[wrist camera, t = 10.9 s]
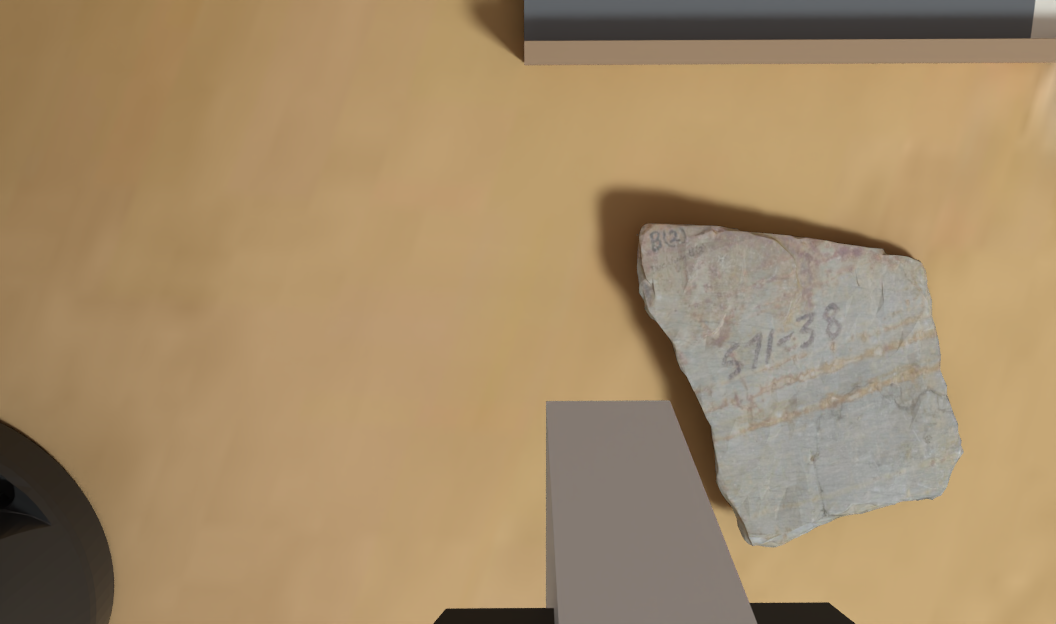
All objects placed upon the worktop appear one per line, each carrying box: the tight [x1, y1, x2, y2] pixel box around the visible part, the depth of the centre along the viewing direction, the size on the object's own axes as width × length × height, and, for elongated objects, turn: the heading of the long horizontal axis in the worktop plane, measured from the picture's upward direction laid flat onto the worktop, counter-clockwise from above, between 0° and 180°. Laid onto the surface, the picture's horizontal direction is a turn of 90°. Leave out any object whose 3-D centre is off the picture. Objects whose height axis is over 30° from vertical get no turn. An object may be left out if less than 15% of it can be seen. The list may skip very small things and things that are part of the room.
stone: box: [637, 223, 963, 547], centre depth 39 cm, size 15×11×3 cm
